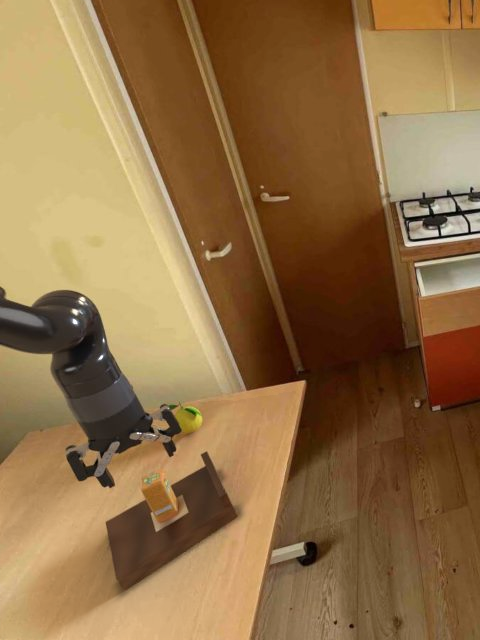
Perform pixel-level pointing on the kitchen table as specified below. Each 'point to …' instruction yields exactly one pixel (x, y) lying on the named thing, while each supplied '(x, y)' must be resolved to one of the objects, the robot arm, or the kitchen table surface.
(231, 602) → the kitchen table surface
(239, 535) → the kitchen table surface
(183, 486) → the shelf
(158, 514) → the supplement box
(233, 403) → the kitchen table surface
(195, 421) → the lemon
